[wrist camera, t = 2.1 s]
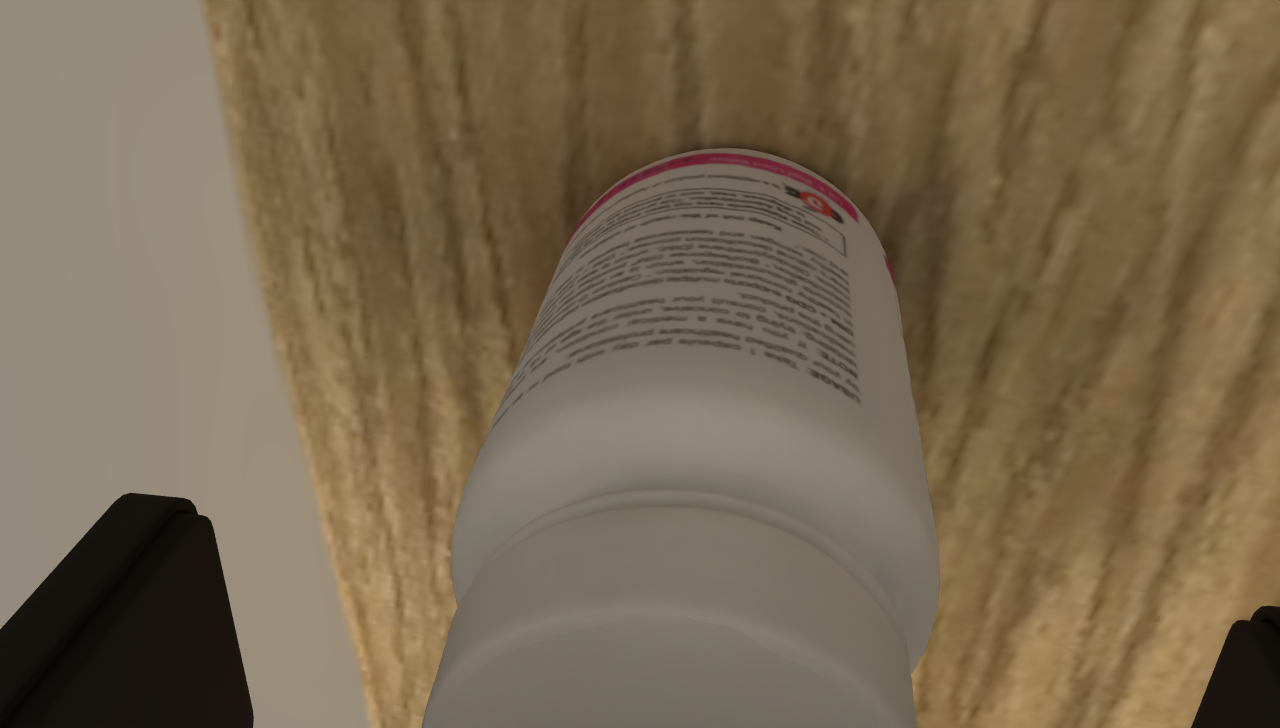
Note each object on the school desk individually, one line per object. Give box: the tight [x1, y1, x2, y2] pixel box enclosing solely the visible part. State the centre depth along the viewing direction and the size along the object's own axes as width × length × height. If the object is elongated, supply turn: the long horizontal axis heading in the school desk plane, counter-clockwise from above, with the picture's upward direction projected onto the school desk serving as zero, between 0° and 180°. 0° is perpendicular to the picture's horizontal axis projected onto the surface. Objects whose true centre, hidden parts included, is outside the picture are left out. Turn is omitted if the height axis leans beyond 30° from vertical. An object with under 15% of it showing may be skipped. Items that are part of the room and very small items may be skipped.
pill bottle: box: [422, 148, 940, 728], centre depth 12 cm, size 5×5×8 cm
